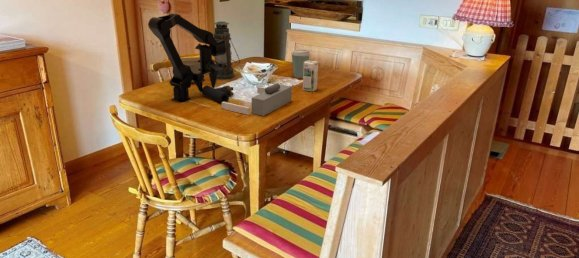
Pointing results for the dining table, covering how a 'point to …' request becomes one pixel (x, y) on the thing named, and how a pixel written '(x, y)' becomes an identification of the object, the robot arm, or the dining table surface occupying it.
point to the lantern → (224, 36)
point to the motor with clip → (264, 100)
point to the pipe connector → (218, 93)
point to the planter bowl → (192, 63)
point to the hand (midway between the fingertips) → (207, 89)
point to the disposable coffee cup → (299, 61)
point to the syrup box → (310, 75)
